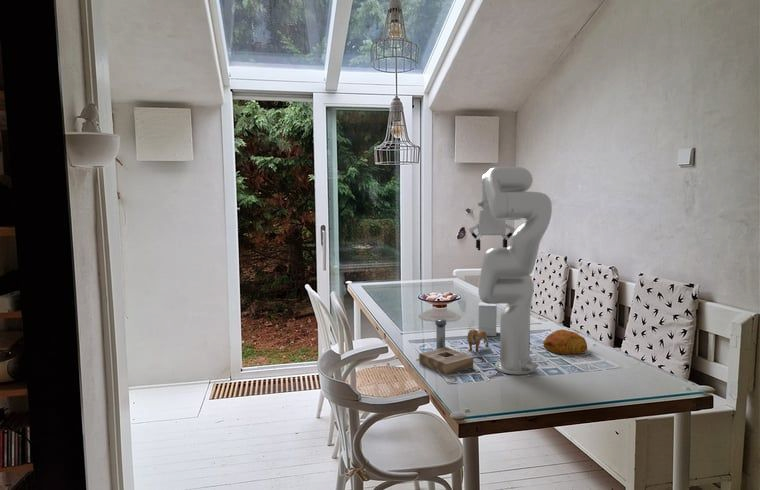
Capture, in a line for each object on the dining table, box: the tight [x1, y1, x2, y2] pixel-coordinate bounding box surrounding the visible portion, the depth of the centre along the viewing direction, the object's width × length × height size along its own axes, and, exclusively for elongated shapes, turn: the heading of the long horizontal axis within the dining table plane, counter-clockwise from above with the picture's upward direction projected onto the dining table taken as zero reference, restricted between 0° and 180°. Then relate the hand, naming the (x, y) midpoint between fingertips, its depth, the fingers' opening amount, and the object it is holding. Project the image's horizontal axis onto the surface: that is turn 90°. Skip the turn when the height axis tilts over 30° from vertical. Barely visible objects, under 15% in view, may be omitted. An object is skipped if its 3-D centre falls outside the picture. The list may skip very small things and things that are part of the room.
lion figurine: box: [466, 328, 489, 353], centre depth 192 cm, size 15×5×9 cm, turn 151°
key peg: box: [434, 318, 447, 349], centre depth 189 cm, size 4×4×12 cm
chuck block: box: [418, 346, 474, 375], centre depth 175 cm, size 14×12×4 cm
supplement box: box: [477, 301, 498, 337], centre depth 213 cm, size 7×7×13 cm
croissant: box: [542, 329, 588, 356], centre depth 191 cm, size 14×16×8 cm
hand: (491, 249), depth 199 cm, fingers open, 9 cm apart
